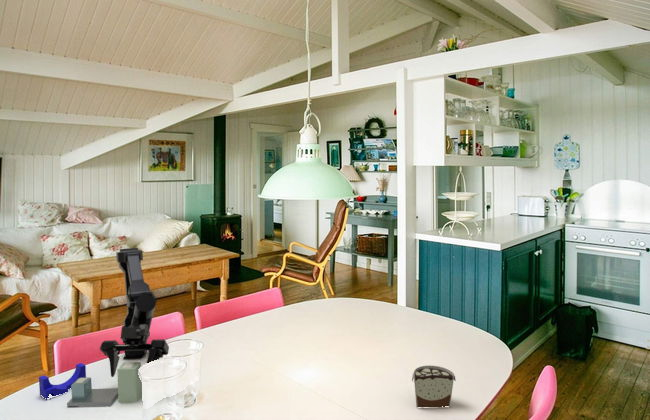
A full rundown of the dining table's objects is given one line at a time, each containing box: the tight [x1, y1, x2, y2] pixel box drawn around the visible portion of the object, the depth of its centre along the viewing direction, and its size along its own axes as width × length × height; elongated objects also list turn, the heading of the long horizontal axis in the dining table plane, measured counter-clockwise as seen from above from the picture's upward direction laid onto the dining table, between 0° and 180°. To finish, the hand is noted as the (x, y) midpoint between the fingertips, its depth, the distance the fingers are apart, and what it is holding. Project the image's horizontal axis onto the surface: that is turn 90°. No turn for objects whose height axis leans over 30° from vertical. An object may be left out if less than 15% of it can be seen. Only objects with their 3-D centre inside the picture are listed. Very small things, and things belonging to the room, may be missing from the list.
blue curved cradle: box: [38, 362, 87, 399], centre depth 134 cm, size 12×4×6 cm, turn 143°
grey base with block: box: [66, 377, 118, 407], centre depth 129 cm, size 12×8×6 cm, turn 93°
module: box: [116, 361, 143, 404], centre depth 129 cm, size 5×4×10 cm
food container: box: [411, 365, 457, 408], centre depth 127 cm, size 12×6×10 cm, turn 92°
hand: (128, 376), depth 128 cm, fingers open, 9 cm apart
